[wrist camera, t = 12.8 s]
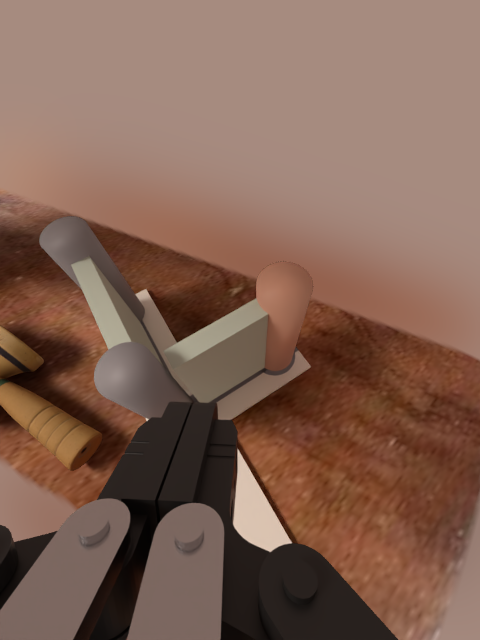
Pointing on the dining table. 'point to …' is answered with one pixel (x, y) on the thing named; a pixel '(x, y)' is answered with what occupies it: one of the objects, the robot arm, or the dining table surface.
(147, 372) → the fence fixed
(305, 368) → the board
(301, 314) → the gate
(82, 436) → the kendama
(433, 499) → the dining table surface
